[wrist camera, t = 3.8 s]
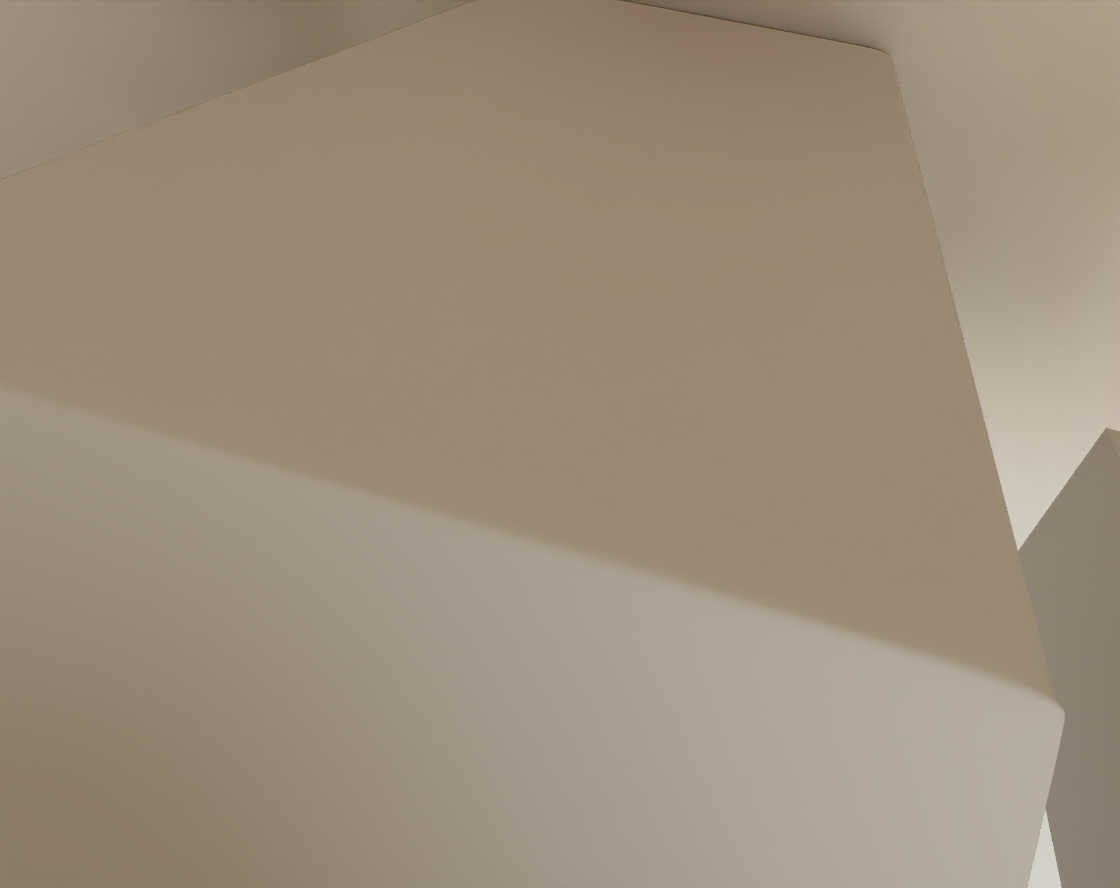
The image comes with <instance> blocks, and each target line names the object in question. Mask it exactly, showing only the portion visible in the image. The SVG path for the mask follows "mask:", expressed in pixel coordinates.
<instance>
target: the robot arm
mask: <svg viewBox="0 0 1120 888" xmlns="http://www.w3.org/2000/svg"><path fill="white" fill-rule="evenodd" d="M1018 554H1019V558H1020V562H1021V566H1022V570H1023V574H1024V578H1025V582H1026V585H1027V589H1028V593H1029V597H1030V601H1031V605H1032V609H1033V613H1034V617H1035V621H1036V624H1037V628H1038V632H1039V636H1040V640H1041V644H1042V648H1043V652H1044V656H1045V660H1046V664H1047V667H1048V671H1049V675H1050V679H1051V683H1052V687H1053V691H1054V694H1055V698H1056V700H1057V701H1058V702H1059V704H1060V705H1061V706H1062V707H1063V709H1064V711H1065V721H1064V726H1063V731H1062V736H1061V741H1060V745H1059V750H1058V754H1057V759H1056V763H1055V768H1054V772H1053V777H1052V781H1051V785H1050V790H1049V794H1048V799H1047V803H1046V812H1047V817H1048V822H1049V827H1050V832H1051V836H1052V841H1053V846H1054V851H1055V856H1056V861H1057V866H1058V871H1059V876H1060V880H1061V885H1062V888H1120V432H1119V431H1115V430H1112V429H1109V428H1106V429H1105V430H1104V432H1103V433H1102V434H1101V436H1100V437H1099V439H1098V440H1097V441H1096V443H1095V444H1094V446H1093V447H1092V448H1091V450H1090V451H1089V453H1088V454H1087V455H1086V457H1085V458H1084V460H1083V461H1082V462H1081V464H1080V465H1079V467H1078V468H1077V469H1076V471H1075V472H1074V474H1073V475H1072V476H1071V478H1070V479H1069V481H1068V482H1067V483H1066V485H1065V486H1064V488H1063V489H1062V490H1061V492H1060V493H1059V495H1058V496H1057V497H1056V499H1055V500H1054V502H1053V503H1052V504H1051V506H1050V507H1049V509H1048V510H1047V511H1046V513H1045V514H1044V516H1043V517H1042V518H1041V520H1040V521H1039V523H1038V524H1037V525H1036V527H1035V528H1034V530H1033V531H1032V532H1031V534H1030V535H1029V537H1028V538H1027V539H1026V541H1025V542H1024V544H1023V545H1022V546H1021V548H1020V549H1019V551H1018Z"/></svg>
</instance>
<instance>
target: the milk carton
mask: <svg viewBox="0 0 1120 888" xmlns="http://www.w3.org/2000/svg"><path fill="white" fill-rule="evenodd" d="M1064 721H1065V711H1064V709H1063V707H1062V706H1061V705H1060V704H1059V702H1058V701H1057V700H1056V698H1055V694H1054V691H1053V687H1052V683H1051V679H1050V675H1049V671H1048V667H1047V664H1046V660H1045V656H1044V652H1043V648H1042V644H1041V640H1040V636H1039V632H1038V628H1037V624H1036V621H1035V617H1034V613H1033V609H1032V605H1031V601H1030V597H1029V593H1028V589H1027V585H1026V582H1025V578H1024V574H1023V570H1022V566H1021V562H1020V558H1019V554H1018V550H1017V546H1016V542H1015V539H1014V535H1013V531H1012V527H1011V523H1010V519H1009V515H1008V511H1007V507H1006V503H1005V500H1004V496H1003V492H1002V488H1001V484H1000V480H999V476H998V472H997V468H996V464H995V460H994V457H993V453H992V449H991V445H990V441H989V437H988V433H987V429H986V425H985V421H984V418H983V414H982V410H981V406H980V402H979V398H978V394H977V390H976V386H975V382H974V378H973V375H972V371H971V367H970V363H969V359H968V355H967V351H966V347H965V343H964V339H963V335H962V332H961V328H960V324H959V320H958V316H957V312H956V308H955V304H954V300H953V296H952V293H951V289H950V285H949V281H948V277H947V273H946V269H945V265H944V261H943V257H942V253H941V250H940V246H939V242H938V238H937V234H936V230H935V226H934V222H933V218H932V214H931V211H930V207H929V203H928V199H927V195H926V191H925V187H924V183H923V179H922V175H921V171H920V168H919V164H918V160H917V156H916V152H915V148H914V144H913V140H912V136H911V132H910V129H909V125H908V121H907V117H906V113H905V109H904V105H903V101H902V97H901V93H900V89H899V86H898V82H897V78H896V74H895V70H894V66H893V62H892V59H891V58H890V56H889V55H888V54H887V53H884V52H882V51H879V50H875V49H872V48H867V47H863V46H858V45H853V44H848V43H843V42H838V41H833V40H827V39H822V38H817V37H812V36H806V35H801V34H796V33H790V32H785V31H780V30H775V29H769V28H764V27H759V26H754V25H748V24H743V23H738V22H732V21H727V20H722V19H717V18H711V17H706V16H701V15H696V14H690V13H685V12H680V11H674V10H669V9H664V8H659V7H653V6H648V5H643V4H638V3H632V2H627V1H622V0H474V1H472V2H469V3H466V4H464V5H461V6H459V7H456V8H453V9H451V10H448V11H445V12H443V13H440V14H437V15H435V16H432V17H430V18H427V19H424V20H422V21H419V22H416V23H414V24H411V25H408V26H406V27H403V28H400V29H398V30H395V31H393V32H390V33H387V34H385V35H382V36H379V37H377V38H374V39H371V40H369V41H366V42H363V43H361V44H358V45H356V46H353V47H350V48H348V49H345V50H342V51H340V52H337V53H334V54H332V55H329V56H327V57H324V58H321V59H319V60H316V61H313V62H311V63H308V64H305V65H303V66H300V67H297V68H295V69H292V70H290V71H287V72H284V73H282V74H279V75H276V76H274V77H271V78H268V79H266V80H263V81H260V82H258V83H255V84H253V85H250V86H247V87H245V88H242V89H239V90H237V91H234V92H231V93H229V94H226V95H224V96H221V97H218V98H216V99H213V100H210V101H208V102H205V103H202V104H200V105H197V106H194V107H192V108H189V109H187V110H184V111H181V112H179V113H176V114H173V115H171V116H168V117H165V118H163V119H160V120H157V121H155V122H152V123H150V124H147V125H144V126H142V127H139V128H136V129H134V130H131V131H128V132H126V133H123V134H121V135H118V136H115V137H113V138H110V139H107V140H105V141H102V142H99V143H97V144H94V145H91V146H89V147H86V148H84V149H81V150H78V151H76V152H73V153H70V154H68V155H65V156H62V157H60V158H57V159H54V160H52V161H49V162H47V163H44V164H41V165H39V166H36V167H33V168H31V169H28V170H25V171H23V172H20V173H18V174H15V175H12V176H10V177H7V178H4V179H2V180H0V888H1027V886H1028V882H1029V878H1030V873H1031V869H1032V864H1033V860H1034V856H1035V851H1036V847H1037V843H1038V838H1039V834H1040V829H1041V825H1042V821H1043V816H1044V812H1045V807H1046V803H1047V799H1048V794H1049V790H1050V785H1051V781H1052V777H1053V772H1054V768H1055V763H1056V759H1057V754H1058V750H1059V745H1060V741H1061V736H1062V731H1063V726H1064Z"/></svg>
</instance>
